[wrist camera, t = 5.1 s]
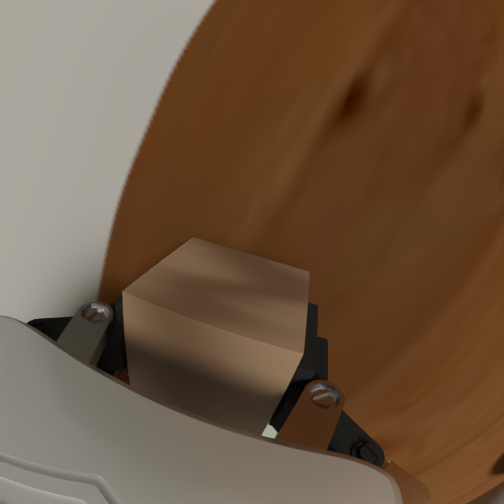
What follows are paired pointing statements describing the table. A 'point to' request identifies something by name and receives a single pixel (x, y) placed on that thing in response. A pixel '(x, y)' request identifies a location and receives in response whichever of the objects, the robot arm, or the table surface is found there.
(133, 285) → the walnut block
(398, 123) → the table surface
